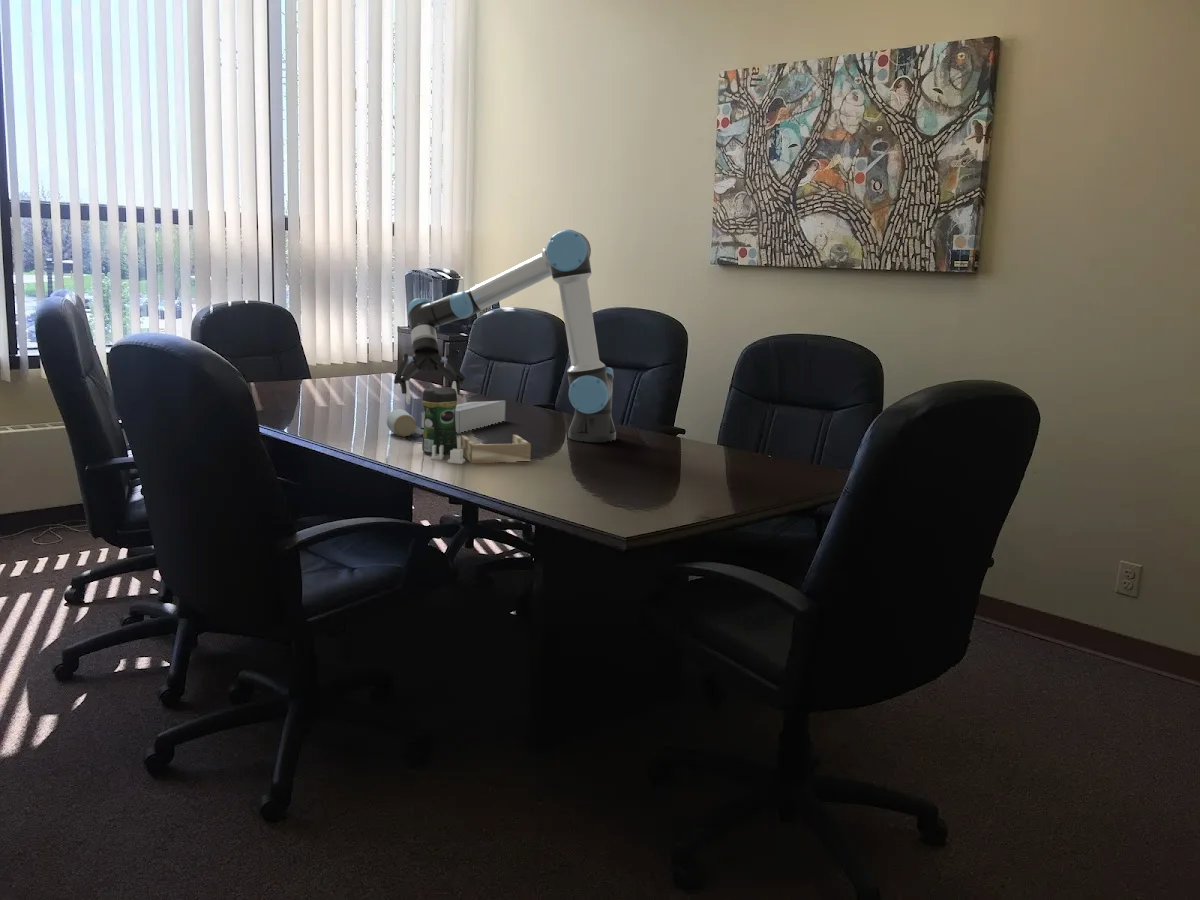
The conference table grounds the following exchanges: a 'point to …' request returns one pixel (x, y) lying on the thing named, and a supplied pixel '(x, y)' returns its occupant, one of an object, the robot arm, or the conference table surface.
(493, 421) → the white bar
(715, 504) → the conference table surface
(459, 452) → the cable clips
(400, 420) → the ceramic mug
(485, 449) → the wooden u-shaped piece
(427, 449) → the coffee jar
